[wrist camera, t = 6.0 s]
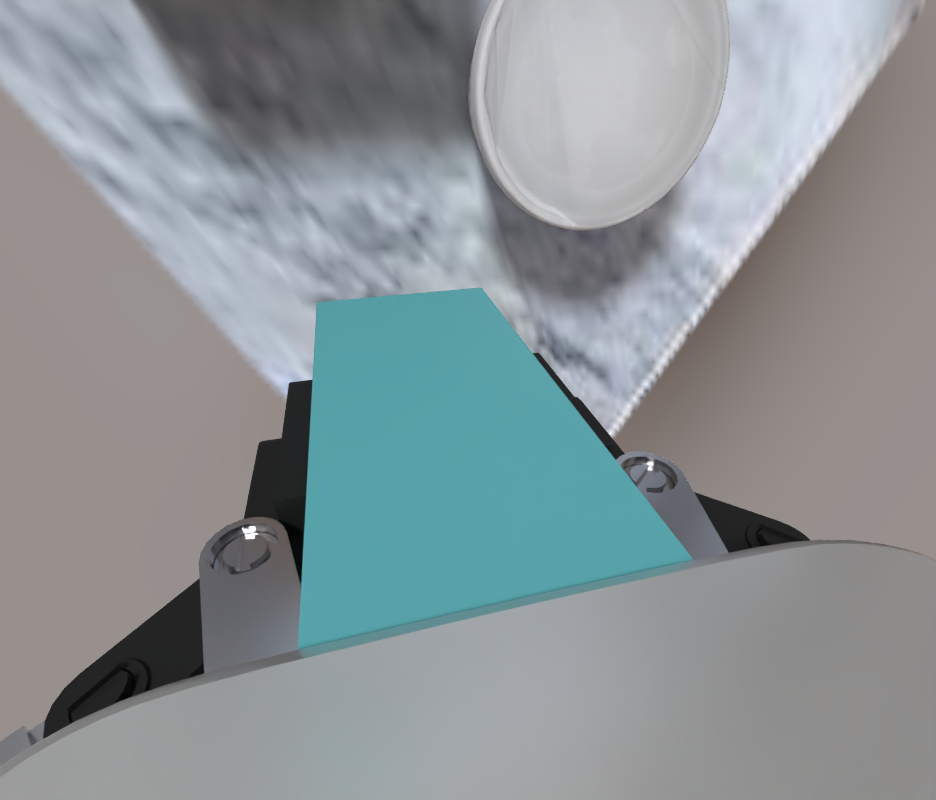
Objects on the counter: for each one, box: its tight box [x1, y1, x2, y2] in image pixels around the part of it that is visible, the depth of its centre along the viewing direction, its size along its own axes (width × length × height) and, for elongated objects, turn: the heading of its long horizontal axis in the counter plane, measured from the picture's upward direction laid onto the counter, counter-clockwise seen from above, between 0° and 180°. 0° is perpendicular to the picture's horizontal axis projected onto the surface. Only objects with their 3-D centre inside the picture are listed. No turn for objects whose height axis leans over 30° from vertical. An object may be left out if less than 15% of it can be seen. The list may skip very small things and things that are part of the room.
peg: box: [298, 288, 693, 650], centre depth 9 cm, size 4×4×12 cm
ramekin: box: [468, 0, 730, 230], centre depth 22 cm, size 11×11×5 cm
